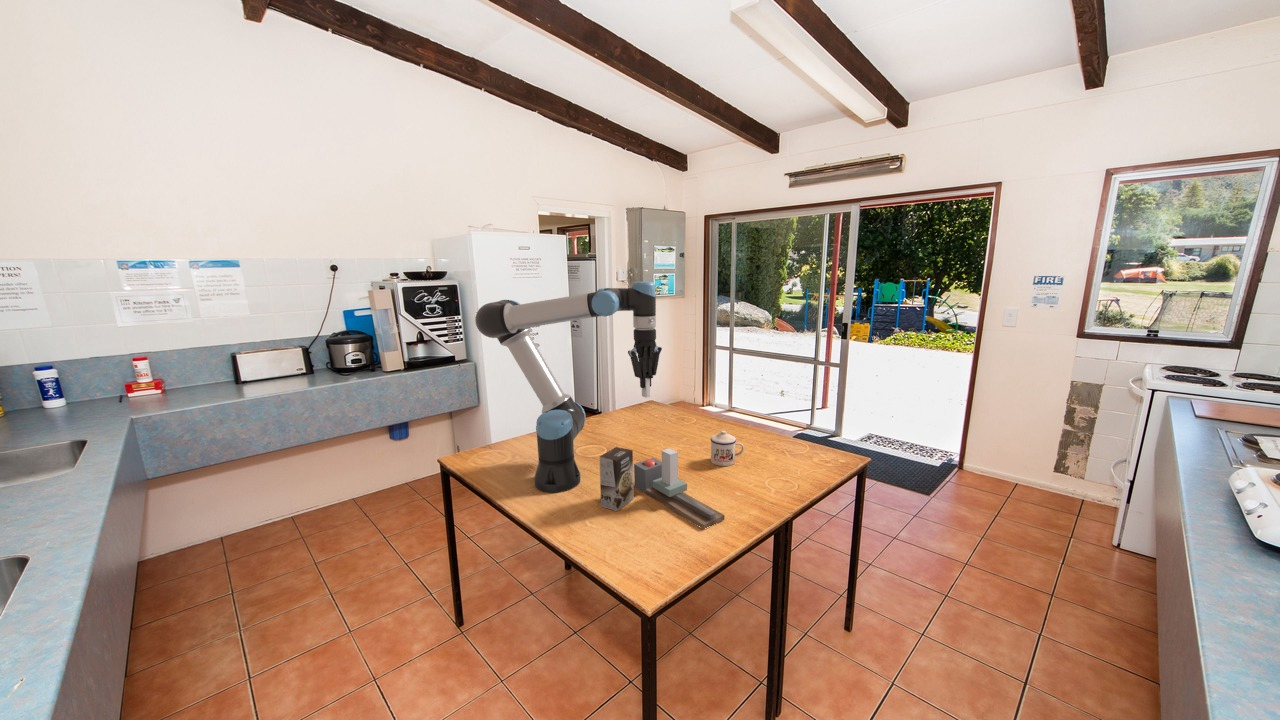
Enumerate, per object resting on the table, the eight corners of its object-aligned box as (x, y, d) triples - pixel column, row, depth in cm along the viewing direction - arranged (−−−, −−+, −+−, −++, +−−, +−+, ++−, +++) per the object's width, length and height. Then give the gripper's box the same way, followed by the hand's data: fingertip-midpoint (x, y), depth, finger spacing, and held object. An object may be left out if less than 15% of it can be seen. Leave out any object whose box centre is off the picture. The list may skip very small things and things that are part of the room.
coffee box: (617, 512, 137) (616, 460, 133) (600, 506, 140) (598, 456, 137) (634, 498, 144) (633, 449, 141) (617, 493, 148) (616, 445, 144)
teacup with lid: (711, 466, 166) (711, 435, 164) (709, 456, 175) (709, 426, 173) (745, 467, 165) (746, 436, 163) (741, 456, 174) (742, 427, 172)
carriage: (669, 497, 138) (669, 458, 136) (652, 487, 144) (652, 450, 142) (687, 490, 142) (687, 452, 140) (670, 480, 148) (669, 444, 146)
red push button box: (645, 493, 147) (645, 470, 145) (634, 487, 152) (634, 464, 150) (665, 486, 152) (665, 463, 150) (653, 480, 156) (653, 457, 155)
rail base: (703, 529, 127) (704, 519, 126) (645, 493, 147) (645, 485, 146) (724, 520, 131) (724, 510, 131) (665, 486, 152) (665, 477, 151)
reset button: (648, 479, 149) (648, 464, 148) (642, 475, 151) (642, 461, 150) (657, 476, 151) (657, 462, 150) (650, 473, 153) (650, 458, 152)
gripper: (635, 331, 149) (637, 402, 154) (666, 327, 157) (667, 395, 161) (622, 329, 155) (624, 397, 160) (653, 325, 162) (654, 391, 167)
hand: (645, 396), depth 160 cm, fingers closed
